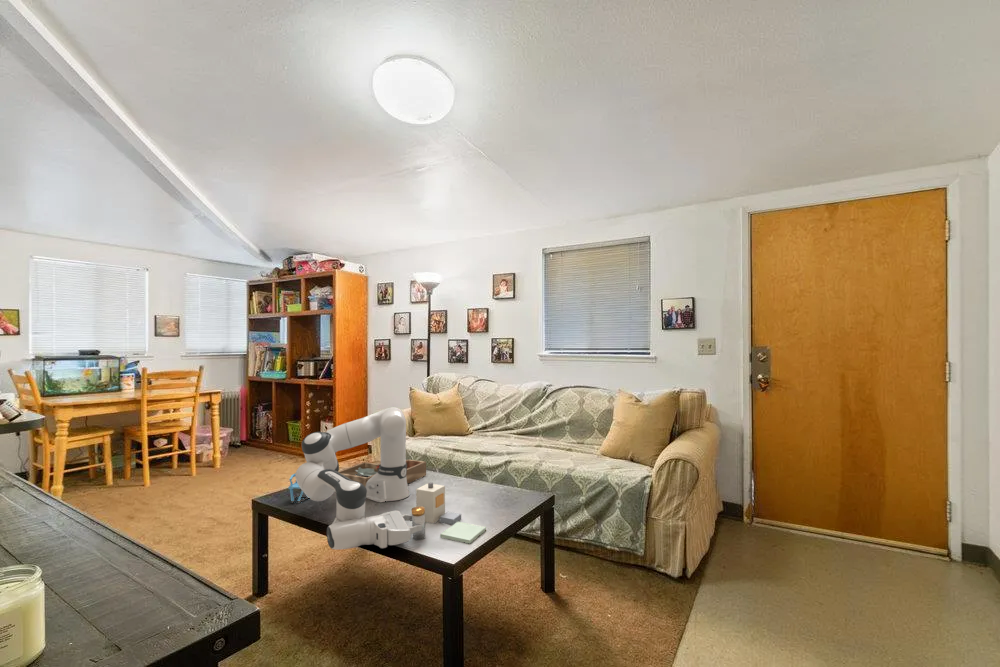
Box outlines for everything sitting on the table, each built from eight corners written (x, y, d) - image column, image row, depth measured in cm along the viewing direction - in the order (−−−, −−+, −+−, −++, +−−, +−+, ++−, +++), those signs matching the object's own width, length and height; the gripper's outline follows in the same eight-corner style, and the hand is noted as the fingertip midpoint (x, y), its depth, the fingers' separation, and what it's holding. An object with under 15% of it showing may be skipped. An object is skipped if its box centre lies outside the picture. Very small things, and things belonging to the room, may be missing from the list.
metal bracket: (363, 472, 222) (352, 465, 233) (360, 484, 220) (349, 476, 232) (390, 474, 230) (378, 468, 242) (387, 486, 229) (375, 479, 241)
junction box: (416, 520, 176) (416, 484, 176) (428, 512, 183) (428, 479, 183) (434, 523, 172) (434, 487, 172) (445, 516, 179) (445, 481, 179)
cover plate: (439, 523, 173) (439, 516, 173) (448, 517, 179) (448, 511, 179) (453, 526, 171) (453, 519, 171) (461, 520, 176) (461, 513, 176)
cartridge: (409, 538, 159) (409, 510, 159) (417, 533, 163) (416, 505, 163) (420, 540, 157) (420, 512, 157) (428, 535, 162) (427, 507, 162)
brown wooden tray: (334, 482, 224) (334, 472, 224) (364, 470, 243) (364, 462, 243) (367, 488, 214) (367, 478, 214) (396, 475, 233) (396, 466, 234)
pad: (440, 537, 160) (440, 534, 160) (457, 524, 171) (457, 521, 171) (469, 543, 155) (469, 540, 155) (486, 530, 166) (485, 527, 166)
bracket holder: (385, 482, 222) (384, 468, 222) (408, 472, 238) (408, 459, 238) (403, 486, 217) (403, 471, 217) (426, 475, 233) (426, 461, 233)
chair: (285, 504, 194) (285, 476, 194) (295, 497, 203) (295, 470, 203) (303, 504, 194) (302, 476, 194) (312, 497, 202) (312, 470, 202)
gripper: (373, 526, 164) (411, 520, 170) (382, 550, 145) (425, 542, 151) (373, 509, 164) (411, 503, 170) (382, 531, 145) (424, 523, 151)
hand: (417, 522), depth 160 cm, fingers open, 8 cm apart
